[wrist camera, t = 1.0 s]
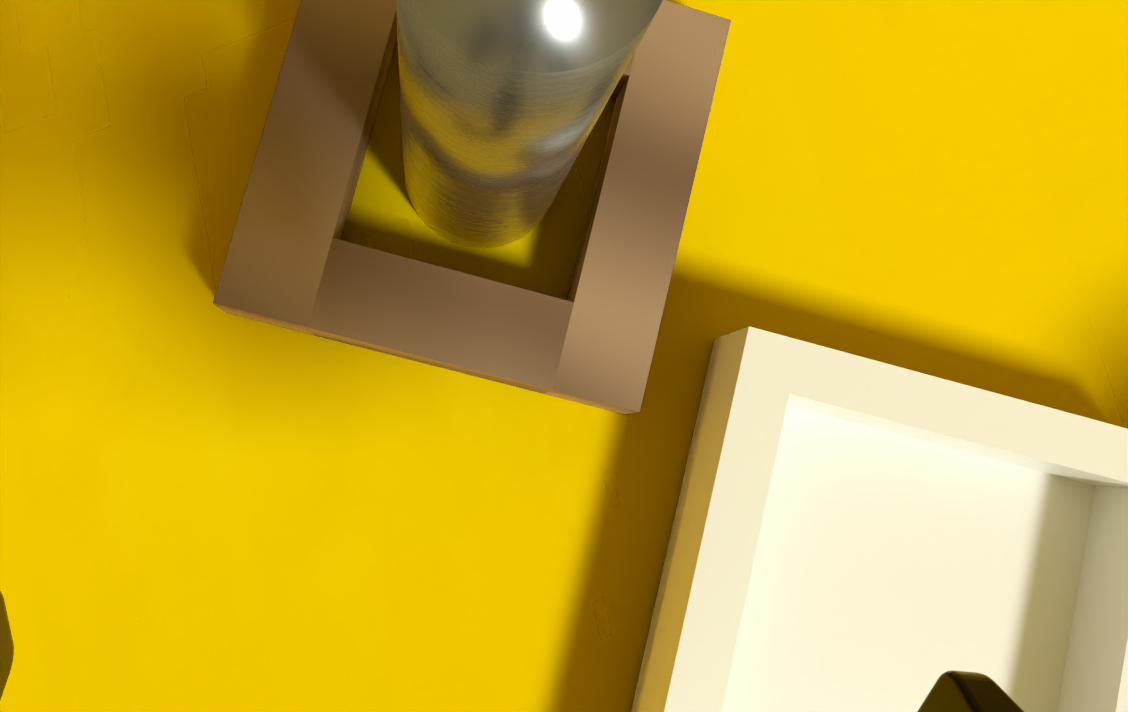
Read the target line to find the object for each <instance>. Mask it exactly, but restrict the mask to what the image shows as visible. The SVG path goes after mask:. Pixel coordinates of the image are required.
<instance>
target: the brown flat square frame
mask: <svg viewBox="0 0 1128 712" xmlns="http://www.w3.org/2000/svg"><path fill="white" fill-rule="evenodd" d="M730 22H731V20H729V19H726V18H722V17H719V16H716V15H713V14H709V13H706V12H703V11H700V10H697V9H693V8H690V7H687V6H684V5H680V4H677V3H674V2H671V1H667V0H663V1H662V3H661V5H660V7H659V9H658V11H657V13H656V14H655V16H654V18H653V20H652V22H651V24H650V25H649V27H648V29H647V31H646V33H645V34H644V36H643V38H642V40H641V42H640V44H639V45H638V47H637V49H636V51H635V53H634V54H633V56H632V58H631V60H630V62H629V64H628V65H627V67H626V69H625V71H624V73H623V74H622V76H621V78H620V80H619V82H618V84H617V85H616V87H615V89H614V91H613V93H612V94H611V96H610V97H613V98H616V102H615V106H614V110H613V115H612V119H611V123H610V127H609V131H608V135H607V139H606V143H605V147H604V151H603V155H602V159H601V163H600V167H599V172H598V176H597V180H596V184H595V188H594V192H593V196H592V200H591V204H590V208H589V212H588V216H587V220H586V225H585V229H584V233H583V237H582V241H581V245H580V249H579V253H578V257H577V261H576V265H575V269H574V273H573V277H572V282H571V286H570V290H569V294H568V298H567V300H564V299H560V298H556V297H552V296H549V295H545V294H541V293H537V292H534V291H530V290H526V289H522V288H519V287H515V286H511V285H507V284H504V283H500V282H496V281H493V280H489V279H485V278H481V277H478V276H474V275H470V274H466V273H463V272H459V271H455V270H451V269H448V268H444V267H440V266H436V265H433V264H429V263H425V262H421V261H418V260H414V259H410V258H407V257H403V256H399V255H395V254H392V253H388V252H384V251H380V250H377V249H373V248H369V247H365V246H362V245H358V244H354V243H350V242H347V241H343V240H341V239H342V235H343V232H344V228H345V224H346V221H347V217H348V214H349V210H350V206H351V203H352V199H353V196H354V192H355V188H356V185H357V181H358V178H359V174H360V170H361V167H362V163H363V160H364V156H365V152H366V149H367V145H368V142H369V138H370V134H371V131H372V127H373V124H374V120H375V116H376V113H377V109H378V106H379V102H380V98H381V95H382V91H383V87H384V84H385V80H386V77H387V73H388V69H389V66H390V62H391V59H392V55H393V51H394V48H395V44H396V41H397V17H396V0H301V3H300V6H299V10H298V13H297V17H296V20H295V23H294V27H293V30H292V34H291V37H290V41H289V44H288V47H287V51H286V54H285V58H284V61H283V65H282V68H281V71H280V75H279V78H278V82H277V85H276V88H275V92H274V95H273V99H272V102H271V106H270V109H269V112H268V116H267V119H266V123H265V126H264V130H263V133H262V136H261V140H260V143H259V147H258V150H257V153H256V157H255V160H254V164H253V167H252V171H251V174H250V177H249V181H248V184H247V188H246V191H245V195H244V198H243V201H242V205H241V208H240V212H239V215H238V218H237V222H236V225H235V229H234V232H233V236H232V239H231V242H230V246H229V249H228V253H227V256H226V260H225V263H224V266H223V270H222V273H221V277H220V280H219V283H218V287H217V290H216V294H215V297H214V301H213V304H215V305H216V306H218V307H219V308H220V309H222V310H223V311H225V312H226V313H229V314H233V315H237V316H241V317H245V318H249V319H253V320H257V321H261V322H265V323H269V324H273V325H277V326H280V327H284V328H288V329H292V330H296V331H300V332H304V333H308V334H312V335H316V336H320V337H324V338H328V339H331V340H335V341H339V342H343V343H347V344H351V345H355V346H359V347H363V348H367V349H371V350H375V351H379V352H383V353H386V354H390V355H394V356H398V357H402V358H406V359H410V360H414V361H418V362H422V363H426V364H430V365H434V366H437V367H441V368H445V369H449V370H453V371H457V372H461V373H465V374H469V375H473V376H477V377H481V378H485V379H488V380H492V381H496V382H500V383H504V384H508V385H512V386H516V387H520V388H524V389H528V390H532V391H536V392H539V393H543V394H547V395H551V396H555V397H559V398H563V399H567V400H571V401H575V402H579V403H583V404H587V405H590V406H594V407H598V408H602V409H606V410H610V411H614V412H618V413H622V414H632V413H638V412H640V409H641V405H642V401H643V396H644V392H645V388H646V383H647V379H648V375H649V370H650V366H651V362H652V357H653V353H654V349H655V345H656V340H657V336H658V332H659V327H660V323H661V319H662V314H663V310H664V306H665V302H666V297H667V293H668V289H669V284H670V280H671V276H672V271H673V267H674V263H675V259H676V254H677V250H678V246H679V241H680V237H681V233H682V228H683V224H684V220H685V215H686V211H687V207H688V203H689V198H690V194H691V190H692V185H693V181H694V177H695V172H696V168H697V164H698V160H699V155H700V151H701V147H702V142H703V138H704V134H705V129H706V125H707V121H708V117H709V112H710V108H711V104H712V99H713V95H714V91H715V86H716V82H717V78H718V74H719V69H720V65H721V61H722V56H723V52H724V48H725V43H726V39H727V35H728V30H729V26H730Z"/></svg>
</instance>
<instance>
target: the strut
mask: <svg viewBox="0 0 1128 712" xmlns="http://www.w3.org/2000/svg"><path fill="white" fill-rule="evenodd" d="M662 1H663V0H396V17H397V38H398V59H399V79H400V100H401V121H402V141H403V162H404V179H405V185H406V190H407V193H408V196H409V199H410V201H411V203H412V205H413V207H414V209H415V211H416V212H417V214H418V215H419V216H420V218H421V219H422V220H423V221H424V222H425V223H426V225H427V226H429V227H430V228H431V229H432V230H433V231H434V232H436V233H437V234H439V235H440V236H442V237H443V238H445V239H447V240H449V241H451V242H454V243H457V244H460V245H463V246H468V247H474V248H492V247H498V246H503V245H506V244H509V243H512V242H514V241H516V240H518V239H520V238H521V237H523V236H524V235H526V234H528V233H529V232H530V231H531V230H532V229H533V228H535V227H536V226H537V224H538V223H539V222H540V221H541V220H542V219H543V217H544V216H545V214H546V213H547V211H548V209H549V207H550V205H551V204H552V202H553V200H554V198H555V196H556V195H557V193H558V191H559V189H560V187H561V185H562V184H563V182H564V180H565V178H566V176H567V175H568V173H569V171H570V169H571V167H572V165H573V164H574V162H575V160H576V158H577V156H578V155H579V153H580V151H581V149H582V147H583V145H584V144H585V142H586V140H587V138H588V136H589V135H590V133H591V131H592V129H593V127H594V125H595V124H596V122H597V120H598V118H599V116H600V114H601V113H602V111H603V109H604V107H605V105H606V104H607V102H608V100H609V98H610V96H611V94H612V93H613V91H614V89H615V87H616V85H617V84H618V82H619V80H620V78H621V76H622V74H623V73H624V71H625V69H626V67H627V65H628V64H629V62H630V60H631V58H632V56H633V54H634V53H635V51H636V49H637V47H638V45H639V44H640V42H641V40H642V38H643V36H644V34H645V33H646V31H647V29H648V27H649V25H650V24H651V22H652V20H653V18H654V16H655V14H656V13H657V11H658V9H659V7H660V5H661V3H662Z"/></svg>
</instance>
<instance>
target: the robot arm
mask: <svg viewBox="0 0 1128 712" xmlns="http://www.w3.org/2000/svg"><path fill="white" fill-rule="evenodd" d="M13 654H14V646H13V640H12V635H11V630H10V625H9V621H8V616H7V611H6V606H5V602H4V598H3V595H2V593H1V592H0V699H1V697H2V694H3V691H4V688H5V685H6V682H7V679H8V676H9V673H10V670H11V666H12V662H13ZM917 712H1024V711H1023V710H1022V709H1021V708H1020V707H1019V706H1018V705H1017V704H1016V703H1015V702H1014V701H1013V700H1012V699H1011V698H1010V697H1009V696H1008V695H1007V694H1006V693H1005V692H1004V691H1003V690H1002V689H1001V687H1000V686H999V685H998V684H997V683H996V682H994V681H993V680H992V679H991V678H990V677H988V676H987V675H984V674H981V673H977V672H965V671H954V670H951V671H947V672H945V673H943V674H942V675H941V676H940V677H939V678H938V680H937V681H936V683H935V684H934V686H933V688H932V689H931V691H930V692H929V694H928V695H927V697H926V699H925V700H924V702H923V703H922V705H921V706H920V708H919V710H918V711H917Z"/></svg>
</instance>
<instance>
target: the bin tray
mask: <svg viewBox="0 0 1128 712" xmlns="http://www.w3.org/2000/svg"><path fill="white" fill-rule="evenodd" d="M951 670H954V671H965V672H977V673H981V674H984V675H987V676H988V677H990V678H991V679H992V680H993V681H994V682H996V683H997V684H998V685H999V686H1000V687H1001V689H1002V690H1003V691H1004V692H1005V693H1006V694H1007V695H1008V696H1009V697H1010V698H1011V699H1012V700H1013V701H1014V702H1015V703H1016V704H1017V705H1018V706H1019V707H1020V708H1021V709H1022V710H1023V711H1024V712H1128V429H1127V428H1124V427H1120V426H1116V425H1113V424H1109V423H1105V422H1101V421H1098V420H1094V419H1090V418H1087V417H1083V416H1079V415H1076V414H1072V413H1068V412H1064V411H1061V410H1057V409H1053V408H1050V407H1046V406H1042V405H1039V404H1035V403H1031V402H1027V401H1024V400H1020V399H1016V398H1013V397H1009V396H1005V395H1002V394H998V393H994V392H990V391H987V390H983V389H979V388H976V387H972V386H968V385H965V384H961V383H957V382H953V381H950V380H946V379H942V378H939V377H935V376H931V375H928V374H924V373H920V372H916V371H913V370H909V369H905V368H902V367H898V366H894V365H891V364H887V363H883V362H879V361H876V360H872V359H868V358H865V357H861V356H857V355H854V354H850V353H846V352H842V351H839V350H835V349H831V348H828V347H824V346H820V345H817V344H813V343H809V342H806V341H802V340H798V339H794V338H791V337H787V336H783V335H780V334H776V333H772V332H769V331H765V330H761V329H757V328H754V327H750V326H748V327H746V328H743V329H740V330H737V331H735V332H732V333H729V334H727V335H724V336H721V337H718V338H716V339H715V340H714V344H713V348H712V353H711V357H710V362H709V366H708V371H707V375H706V380H705V384H704V388H703V393H702V397H701V402H700V406H699V411H698V415H697V420H696V424H695V429H694V433H693V437H692V442H691V446H690V451H689V455H688V460H687V464H686V469H685V473H684V477H683V482H682V486H681V491H680V495H679V500H678V504H677V509H676V513H675V517H674V522H673V526H672V531H671V535H670V540H669V544H668V549H667V553H666V558H665V562H664V566H663V571H662V575H661V580H660V584H659V589H658V593H657V598H656V602H655V606H654V611H653V615H652V620H651V624H650V629H649V633H648V638H647V642H646V646H645V651H644V655H643V660H642V664H641V669H640V673H639V678H638V682H637V687H636V691H635V695H634V700H633V704H632V709H631V712H917V711H918V710H919V708H920V706H921V705H922V703H923V702H924V700H925V699H926V697H927V695H928V694H929V692H930V691H931V689H932V688H933V686H934V684H935V683H936V681H937V680H938V678H939V677H940V676H941V675H942V674H943V673H945V672H947V671H951Z"/></svg>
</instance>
